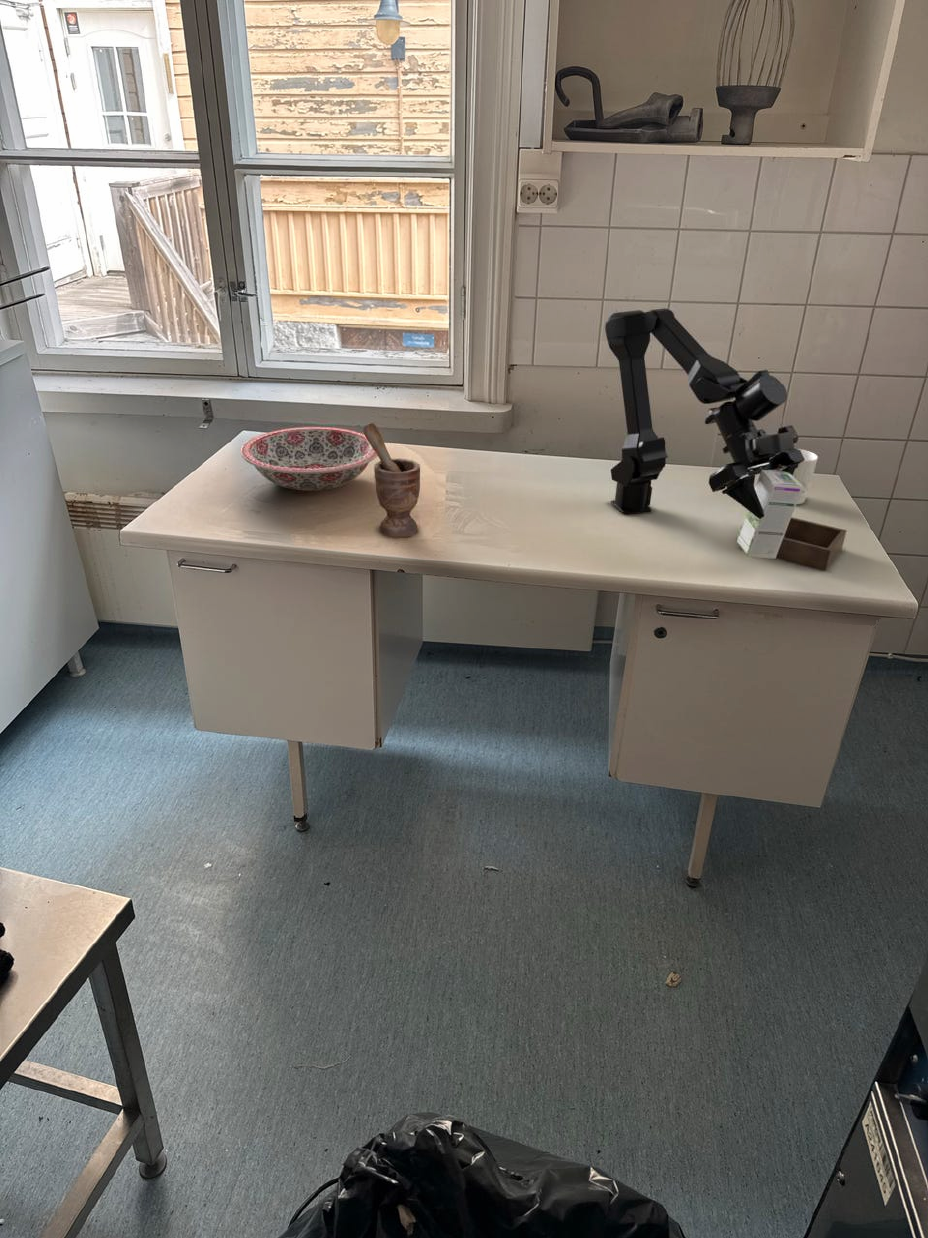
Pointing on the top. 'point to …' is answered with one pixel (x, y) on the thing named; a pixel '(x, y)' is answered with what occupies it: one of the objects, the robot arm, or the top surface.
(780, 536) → the syrup box
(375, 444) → the mortar and pestle
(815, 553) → the crate
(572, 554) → the top surface
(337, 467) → the ceramic bowl
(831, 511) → the top surface
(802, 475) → the white cup
